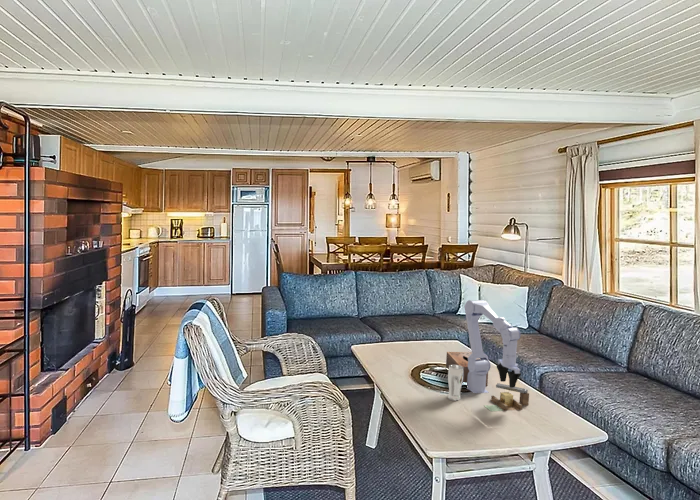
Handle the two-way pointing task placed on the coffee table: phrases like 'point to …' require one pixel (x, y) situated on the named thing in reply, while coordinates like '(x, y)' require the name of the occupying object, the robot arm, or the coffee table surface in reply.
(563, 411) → the coffee table surface
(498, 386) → the lever
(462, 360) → the tissue box cover
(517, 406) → the body
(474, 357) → the robot arm
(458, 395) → the beer glass
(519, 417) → the coffee table surface
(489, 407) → the pad
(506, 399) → the tan cube
